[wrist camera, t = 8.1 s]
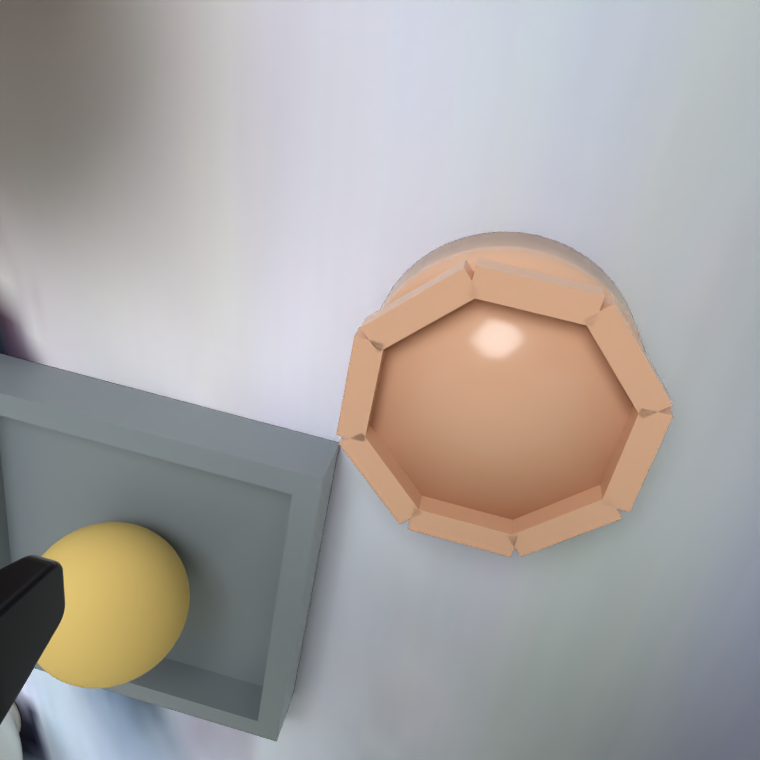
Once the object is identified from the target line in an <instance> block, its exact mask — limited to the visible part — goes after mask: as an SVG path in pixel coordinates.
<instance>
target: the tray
mask: <svg viewBox="0 0 760 760" xmlns="http://www.w3.org/2000/svg"><path fill="white" fill-rule="evenodd" d="M338 448H339V443H338V442H335V441H331V440H327V439H323V438H319V437H316V436H312V435H308V434H304V433H300V432H297V431H293V430H289V429H285V428H281V427H278V426H274V425H270V424H266V423H262V422H259V421H255V420H251V419H247V418H243V417H240V416H236V415H232V414H228V413H224V412H221V411H217V410H213V409H209V408H205V407H202V406H198V405H194V404H190V403H186V402H183V401H179V400H175V399H171V398H167V397H164V396H160V395H156V394H152V393H148V392H145V391H141V390H137V389H133V388H129V387H126V386H122V385H118V384H114V383H110V382H107V381H103V380H99V379H95V378H91V377H88V376H84V375H80V374H76V373H72V372H69V371H65V370H61V369H57V368H53V367H50V366H46V365H42V364H38V363H34V362H31V361H27V360H23V359H19V358H15V357H12V356H8V355H4V354H0V568H2V567H4V566H6V565H8V564H10V563H12V562H14V561H16V560H18V559H20V558H23V557H25V556H28V555H38V556H42V555H43V554H44V553H45V552H46V551H47V550H48V549H49V548H50V547H51V546H52V545H53V544H55V543H56V542H57V541H59V540H60V539H62V538H63V537H64V536H66V535H68V534H70V533H72V532H73V531H76V530H78V529H80V528H83V527H86V526H89V525H92V524H97V523H104V522H125V523H131V524H136V525H139V526H142V527H144V528H147V529H149V530H151V531H153V532H155V533H156V534H158V535H159V536H161V537H162V538H163V539H164V540H166V541H167V542H168V543H169V544H170V545H171V546H172V548H173V549H174V550H175V551H176V553H177V554H178V556H179V557H180V559H181V561H182V563H183V565H184V567H185V570H186V573H187V577H188V581H189V589H190V603H189V610H188V615H187V619H186V622H185V625H184V628H183V630H182V632H181V635H180V636H179V638H178V640H177V641H176V643H175V645H174V646H173V648H172V649H171V650H170V652H169V653H168V654H167V655H166V656H165V657H164V658H163V659H162V661H160V662H159V663H158V664H157V665H156V666H155V667H153V668H152V669H151V670H149V671H148V672H146V673H145V674H143V675H142V676H140V677H138V678H136V679H134V680H132V681H129V682H127V683H124V684H121V685H117V686H113V687H108V688H102V689H105V690H108V691H112V692H115V693H118V694H122V695H125V696H128V697H131V698H135V699H138V700H141V701H145V702H148V703H151V704H155V705H158V706H161V707H165V708H168V709H171V710H174V711H178V712H181V713H184V714H188V715H191V716H194V717H198V718H201V719H204V720H208V721H211V722H214V723H217V724H221V725H224V726H227V727H231V728H234V729H237V730H241V731H244V732H247V733H251V734H254V735H257V736H260V737H264V738H267V739H270V740H274V741H277V739H278V736H279V733H280V730H281V727H282V725H283V722H284V719H285V716H286V713H287V710H288V708H289V705H290V702H291V699H292V696H293V692H294V686H295V681H296V676H297V670H298V665H299V659H300V654H301V648H302V643H303V638H304V632H305V627H306V621H307V616H308V611H309V605H310V600H311V594H312V589H313V583H314V578H315V573H316V567H317V562H318V556H319V551H320V546H321V540H322V535H323V529H324V524H325V518H326V513H327V508H328V502H329V497H330V491H331V486H332V481H333V475H334V470H335V464H336V459H337V454H338ZM34 668H36V669H39V670H42V671H45V670H44V669H43V668H42V667H41V666H40V665H39V664H38V663H37V664H36V665H35V667H34ZM45 672H46V671H45Z"/></svg>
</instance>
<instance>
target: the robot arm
mask: <svg viewBox="0 0 760 760" xmlns="http://www.w3.org/2000/svg"><path fill="white" fill-rule="evenodd" d="M64 611H65V592H64V577H63V568H62V566H61V564H60V563H59V562H57V561H55V560H51V559H48V558H45V557H41V556H38V555H28V556H25V557H23V558H20V559H18V560H16V561H14V562H12V563H10V564H8V565H6V566H4V567H2V568H0V725H1V723H2V721H3V720H4V718H5V717H6V715H7V713H8V712H9V710H10V708H11V706H12V705H13V703H14V701H15V700H16V698H17V696H18V694H19V693H20V691H21V689H22V688H23V686H24V684H25V682H26V681H27V679H28V677H29V676H30V674H31V672H32V670H33V669H34V667H35V665H36V664H37V662H38V660H39V658H40V657H41V655H42V653H43V652H44V650H45V648H46V646H47V645H48V643H49V641H50V640H51V638H52V636H53V635H54V633H55V631H56V629H57V628H58V626H59V624H60V622H61V620H62V618H63V614H64Z"/></svg>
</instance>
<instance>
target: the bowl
mask: <svg viewBox="0 0 760 760" xmlns="http://www.w3.org/2000/svg"><path fill="white" fill-rule="evenodd" d="M670 406H673V405H672V402H671V399H670V397H669V394H668V392H667V390H666V388H665V387H664V385H663V383H662V381H661V380H660V378H659V376H658V374H657V373H656V371H655V369H654V367H653V365H652V364H651V362H650V360H649V358H648V357H647V355H646V353H645V350H644V347H643V344H642V342H641V339H640V336H639V333H638V330H637V328H636V325H635V322H634V319H633V316H632V314H631V311H630V309H629V307H628V305H627V303H626V301H625V299H624V297H623V295H622V294H621V292H620V291H619V289H618V288H617V286H616V285H615V283H614V282H613V281H612V280H611V279H610V278H609V277H608V276H607V274H606V273H605V272H604V271H603V270H602V269H601V268H600V267H598V266H597V265H596V264H595V263H594V262H592V261H591V260H590V259H589V258H587V257H586V256H584V255H582V254H581V253H579V252H578V251H576V250H574V249H573V248H571V247H568V246H566V245H564V244H562V243H559V242H557V241H555V240H551V239H548V238H545V237H541V236H538V235H532V234H526V233H520V232H492V233H482V234H477V235H473V236H468V237H464V238H461V239H458V240H455V241H453V242H450V243H447V244H445V245H443V246H441V247H439V248H437V249H435V250H433V251H432V252H430V253H428V254H427V255H426V256H424V257H423V258H421V259H420V260H418V261H417V262H416V263H415V264H414V265H413V266H412V267H410V268H409V269H408V270H407V271H406V272H405V273H404V274H403V275H402V276H401V278H400V279H399V280H398V281H397V283H396V284H395V285H394V286H393V288H392V290H391V291H390V293H389V294H388V296H387V298H386V299H385V301H384V303H383V305H382V307H381V309H380V310H379V311H377V312H375V313H374V314H372V315H370V316H368V317H367V318H366V319H365V321H364V322H363V324H362V326H360V327H359V329H358V331H357V333H356V334H355V336H354V341H353V347H352V352H351V358H350V363H349V369H348V374H347V380H346V385H345V391H344V396H343V402H342V407H341V413H340V418H339V424H338V430H337V435H339V436H342V438H341V441H340V443H339V445H340V446H341V447H342V449H343V450H344V451H345V453H346V454H347V455H348V457H349V458H350V459H351V461H352V462H353V463H354V465H355V466H356V467H357V469H358V470H359V471H360V473H361V474H362V475H363V476H364V478H365V479H366V480H367V482H368V483H369V484H370V486H371V487H372V488H373V490H374V491H375V492H376V494H377V495H378V496H379V498H380V499H381V500H382V502H383V503H384V504H385V506H386V507H387V508H388V510H389V511H390V512H391V514H392V515H393V516H394V518H395V519H396V520H397V521H398V523H399V524H400V523H402V522H405V521H407V520H409V519H410V521H409V525H408V529H409V530H412V531H416V532H420V533H423V534H427V535H431V536H434V537H438V538H442V539H445V540H449V541H453V542H456V543H460V544H464V545H467V546H471V547H475V548H478V549H482V550H486V551H490V552H493V553H497V554H501V555H504V556H508V557H511V555H512V552H513V550H514V547H515V549H516V550H517V552H518V553H519V555H520V556H521V557H522V556H525V555H527V554H530V553H533V552H535V551H538V550H541V549H543V548H546V547H549V546H551V545H554V544H556V543H559V542H562V541H564V540H567V539H570V538H572V537H575V536H578V535H580V534H583V533H586V532H588V531H591V530H593V529H596V528H599V527H601V526H604V525H607V524H609V523H612V522H615V521H617V520H620V519H622V515H621V510H625V511H628V512H630V511H631V508H632V506H633V504H634V502H635V500H636V497H637V495H638V493H639V491H640V488H641V486H642V484H643V482H644V480H645V477H646V475H647V473H648V471H649V468H650V466H651V464H652V462H653V460H654V457H655V455H656V453H657V451H658V449H659V446H660V444H661V442H662V440H663V437H664V435H665V433H666V431H667V429H668V426H669V424H670V422H671V420H672V418H673V414H672V411H671V409H670ZM620 509H621V510H620Z"/></svg>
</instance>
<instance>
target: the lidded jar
mask: <svg viewBox="0 0 760 760" xmlns="http://www.w3.org/2000/svg"><path fill="white" fill-rule="evenodd" d="M21 725H22V724H21V716H20V713H19V710H18V708H17V706H16V704H15V702H14V703H13V705H12V706H11V708H10V710H9V712H8V713H7V715H6V717H5V718H4V720H3V721H2V723H1V725H0V760H23V755H22V745H21V740H20V736H19V733H20V731H21Z"/></svg>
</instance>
